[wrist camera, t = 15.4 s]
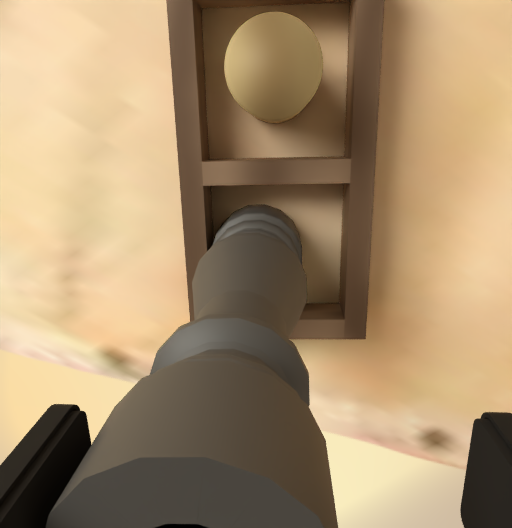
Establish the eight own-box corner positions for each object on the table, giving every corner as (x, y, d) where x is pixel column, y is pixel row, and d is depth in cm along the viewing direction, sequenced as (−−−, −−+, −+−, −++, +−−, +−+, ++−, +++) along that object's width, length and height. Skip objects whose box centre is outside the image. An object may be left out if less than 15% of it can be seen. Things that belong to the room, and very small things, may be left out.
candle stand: (375, -27, 26) (413, -93, 19) (358, 321, 33) (381, 377, 25) (176, -18, 27) (134, -78, 19) (199, 321, 34) (174, 375, 26)
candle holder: (222, 198, 31) (20, 414, 7) (307, 210, 31) (396, 474, 7) (213, 278, 33) (26, 667, 9) (293, 290, 33) (325, 717, 9)
